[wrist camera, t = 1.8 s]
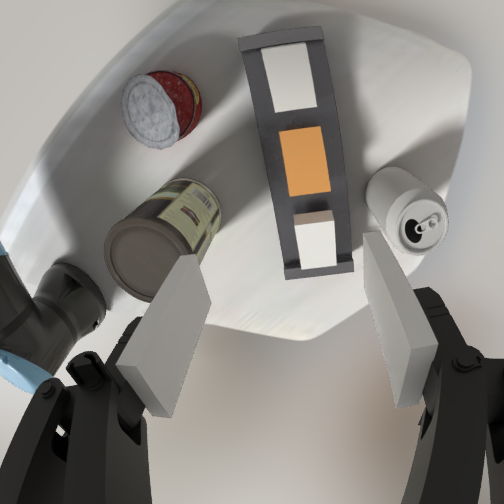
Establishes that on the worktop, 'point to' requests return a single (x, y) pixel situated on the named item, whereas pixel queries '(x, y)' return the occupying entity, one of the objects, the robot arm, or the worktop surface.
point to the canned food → (160, 108)
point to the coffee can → (161, 236)
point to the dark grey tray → (273, 153)
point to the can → (407, 211)
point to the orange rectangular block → (305, 161)
